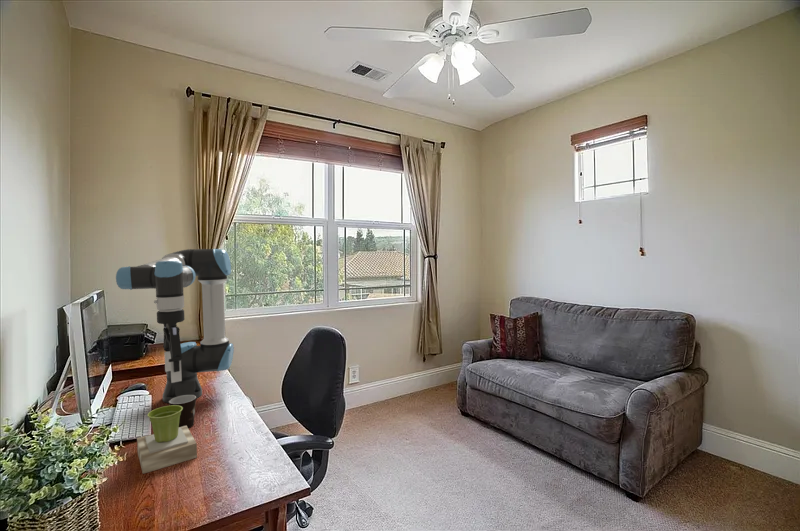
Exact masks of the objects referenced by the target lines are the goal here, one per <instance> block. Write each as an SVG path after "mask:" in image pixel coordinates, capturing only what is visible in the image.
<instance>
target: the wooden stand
mask: <svg viewBox="0 0 800 531" xmlns="http://www.w3.org/2000/svg"><path fill="white" fill-rule="evenodd" d="M189 429H190V428H188V427H187V425H186V426H183V427H179V429H178V436H177V437H176V438H175V439H173V440H170V441H168V442H164V441H162V442H156V441H155V437H154V433H153V434H152V433H151V434H148V435H145V436H140V437H137V438H136V445H137V446H136V447H137V456H138V460H139V464H140V467H141V468H140V469H141V473H142V474H147V473H151V472H154V471H157V470H161V469H163V468H167V467H170V466H174V465H176V464H180V463H183V462H186V461H187V462H188V461H190V460H192V459H196V458H198V450H197V449H198V446H197V445H198V444H197V442H196V440H195V438H194V436H193V435H192V433H191V430H189Z"/></svg>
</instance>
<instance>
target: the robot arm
mask: <svg viewBox="0 0 800 531" xmlns="http://www.w3.org/2000/svg"><path fill="white" fill-rule="evenodd" d="M231 273H232V265H231V258H230V255H229V254H228V252H227V251H226V249H221V248H190V249H189V248H188V249H181V250H177V251H174V252H171V253H168V254H165V255H163V256H162V257H161V258H160V259H157V260H154V261H151V262H148V263H143V264H140V265H137V266H122V267H119V268H118V270H117V271H116V274H115V280H116V281H115V282H116V285H117V287H118V289H120V290H130V291H131V290H143V289H144V290H146V289H154V290H155V297H156V298H155V299H156V300H154V301H153V303H154V304H156V310H157V312H156V323H158V324H160V325H163V329H162V332H163V346H162V347H163V350H164V353H163V354H164V372H165V373H166V382H165V383H166V384H165V386H164V389H163V392H162V402H163V403H166V404H169V401H170V400H171V399H173V398H175V397H178V396H183V395H194V396H196V399H198V398H200V397H201V396H202V395H203V388H202V385H201V383H200V381H199V378H198V373H208V372H209V373H210V372H220V371H221V372H222V371H227V370H229V369H230V367H231V365H232V363H233V362H232V361H233V359H234V352H235V350H234V348H235V347H234V344H233V343H232V342H231V343H230V338H228V337H227V336H226V320H225V319H226V318H225V317H226V316H225V293H224V292H225V291H224V290H225V288H224V283H225V282H226V281H227V280H228V276H230V275H231ZM196 277H197V281H198V282H199V283H200V284H201V294H202V295H201V297H202V300H201V301H202V323H203V339H202V340H201V341H199V343H200V344H199V345H197V344H198V343H196V341H188V342H183V343H181V338H180V336H181V335H180V327H179V326H178V324H177V323H183V322H184V321H185V310H184V308H185V295H184V288H187V287H189V286H191V285H192V284H193V283H194V282H195V280H196Z"/></svg>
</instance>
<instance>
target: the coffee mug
mask: <svg viewBox="0 0 800 531" xmlns="http://www.w3.org/2000/svg"><path fill="white" fill-rule="evenodd" d="M196 402H197V398H196V396H194V395H183V396H178V397H175V398H173V399H171V400H170V401H169V403H168V404H169V405H168V406H170V405H179V406H182V407H183V409H182V411H181V415H180V419H179V427H183V426H186V425H187V427H188V429H191V428H192V427H193V426H194V425H195V424H194V423H195V415H196V414H195V413H196Z"/></svg>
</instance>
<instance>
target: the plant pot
mask: <svg viewBox="0 0 800 531" xmlns="http://www.w3.org/2000/svg"><path fill="white" fill-rule="evenodd" d="M182 409H183V407H182V406H179V405H164V406H161V407H158V408H155V409H153V410H151V411H149V412H148V413H147V417H148V419H149V421H150V422H151V427H152V431H153V434H154V437H155V441H156V442H162V441H164V442H168V441H170V440H173V439H175V438H176V437H177V436H178V429H179V419H180V415H181V411H182Z"/></svg>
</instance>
